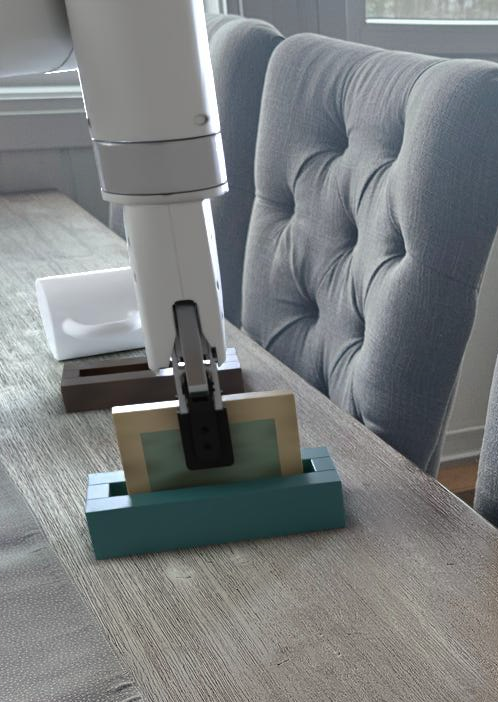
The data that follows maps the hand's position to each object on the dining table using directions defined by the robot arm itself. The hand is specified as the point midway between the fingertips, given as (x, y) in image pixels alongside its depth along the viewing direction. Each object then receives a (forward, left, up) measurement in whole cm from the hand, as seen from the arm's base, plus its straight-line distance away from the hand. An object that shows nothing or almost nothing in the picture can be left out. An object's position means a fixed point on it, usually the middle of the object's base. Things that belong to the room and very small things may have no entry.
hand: (209, 455), depth 77 cm
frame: (0, 0, -5) cm, 5 cm away
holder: (0, 0, -5) cm, 5 cm away
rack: (-12, +30, -5) cm, 33 cm away
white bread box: (-20, +42, -5) cm, 47 cm away
